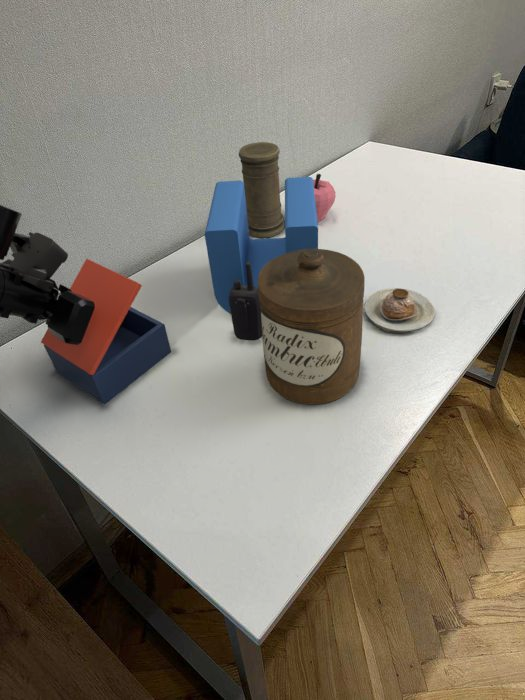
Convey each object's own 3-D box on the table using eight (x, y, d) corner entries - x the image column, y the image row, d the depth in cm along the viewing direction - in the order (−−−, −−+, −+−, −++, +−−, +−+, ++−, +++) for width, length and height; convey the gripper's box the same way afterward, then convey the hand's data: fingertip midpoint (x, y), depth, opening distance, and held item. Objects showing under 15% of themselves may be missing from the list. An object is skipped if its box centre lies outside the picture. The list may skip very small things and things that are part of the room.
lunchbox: (123, 325, 93) (114, 298, 88) (171, 352, 86) (164, 323, 82) (56, 372, 85) (43, 344, 80) (104, 405, 78) (92, 377, 74)
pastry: (359, 295, 94) (360, 275, 91) (423, 291, 94) (427, 270, 91) (370, 337, 86) (372, 316, 83) (442, 332, 85) (446, 311, 82)
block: (218, 319, 92) (203, 231, 80) (226, 264, 105) (215, 181, 93) (317, 315, 91) (318, 225, 79) (313, 260, 104) (313, 176, 92)
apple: (292, 212, 120) (290, 171, 113) (327, 206, 121) (328, 165, 114) (302, 231, 113) (301, 189, 106) (339, 225, 114) (341, 183, 107)
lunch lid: (90, 260, 81) (86, 258, 81) (142, 285, 75) (138, 283, 74) (44, 343, 80) (40, 342, 80) (93, 375, 74) (89, 374, 73)
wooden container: (248, 385, 79) (233, 267, 65) (293, 330, 88) (289, 215, 74) (334, 419, 73) (340, 297, 58) (373, 356, 82) (386, 236, 67)
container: (269, 242, 111) (263, 161, 99) (237, 231, 115) (228, 152, 103) (292, 224, 116) (289, 145, 104) (261, 215, 120) (255, 138, 108)
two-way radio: (266, 330, 89) (260, 257, 79) (261, 347, 86) (254, 273, 76) (236, 328, 90) (226, 255, 80) (229, 344, 87) (218, 271, 77)
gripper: (56, 248, 58) (148, 281, 72) (-26, 209, 67) (70, 244, 81) (23, 337, 59) (120, 353, 73) (-53, 287, 68) (46, 309, 82)
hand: (88, 311), depth 77 cm, fingers closed, pressing on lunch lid
